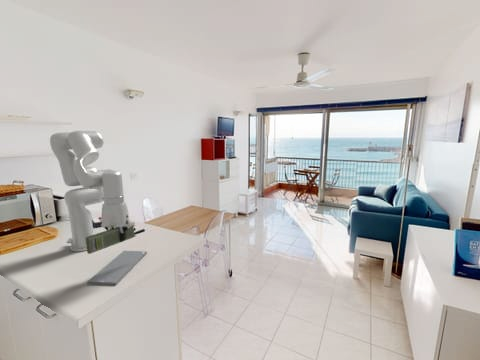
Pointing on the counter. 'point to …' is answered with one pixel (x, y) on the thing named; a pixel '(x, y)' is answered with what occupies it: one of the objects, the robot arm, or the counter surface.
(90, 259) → the counter surface
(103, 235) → the handheld radio
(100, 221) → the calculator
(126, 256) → the charging dock
